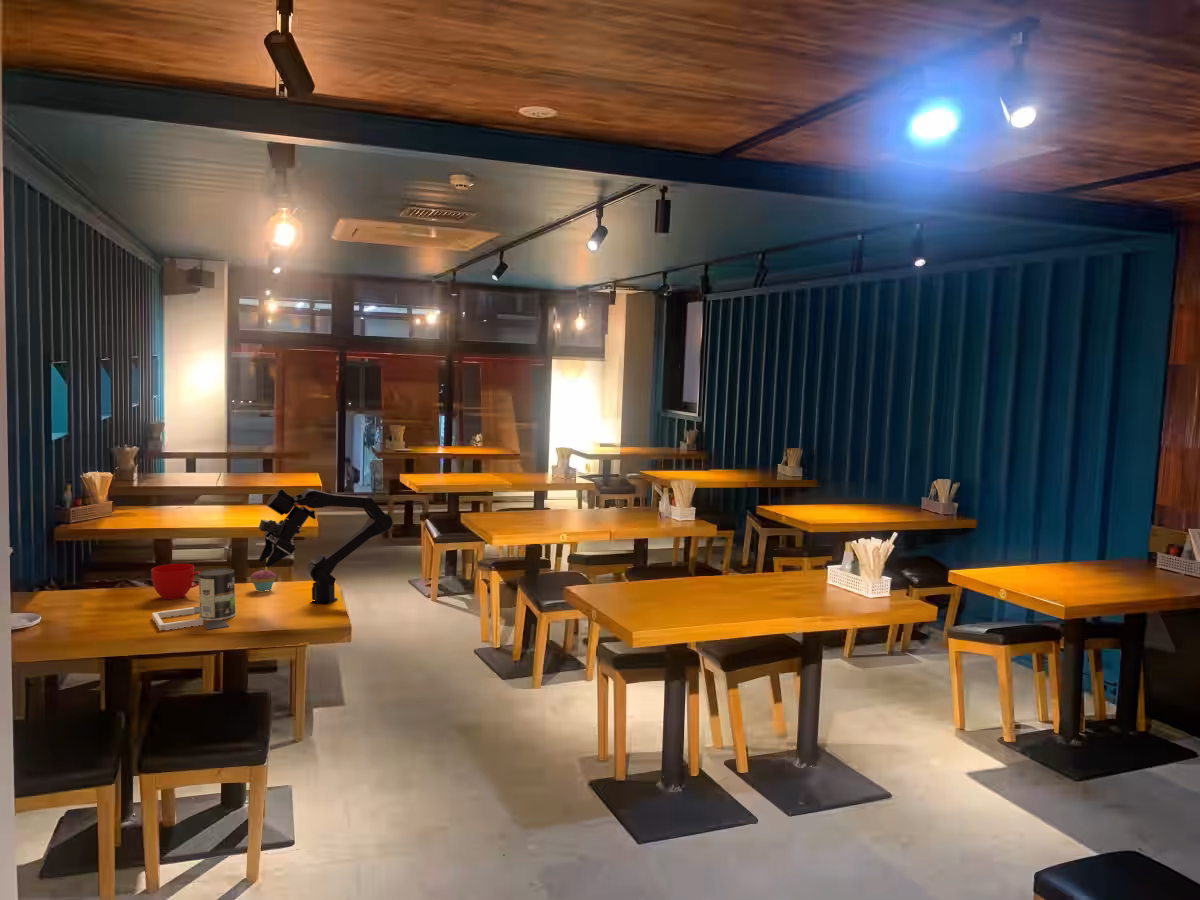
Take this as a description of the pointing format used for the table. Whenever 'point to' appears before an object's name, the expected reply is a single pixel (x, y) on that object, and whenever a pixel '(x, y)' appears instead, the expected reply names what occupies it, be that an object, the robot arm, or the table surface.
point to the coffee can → (217, 594)
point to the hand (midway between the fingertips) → (263, 563)
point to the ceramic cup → (173, 580)
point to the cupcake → (263, 579)
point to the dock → (175, 625)
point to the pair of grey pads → (212, 624)
